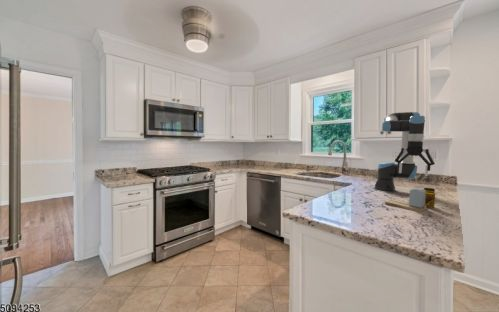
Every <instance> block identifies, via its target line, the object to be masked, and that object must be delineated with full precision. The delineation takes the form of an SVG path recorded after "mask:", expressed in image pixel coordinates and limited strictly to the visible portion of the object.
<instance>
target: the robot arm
mask: <svg viewBox="0 0 499 312" xmlns="http://www.w3.org/2000/svg"><path fill="white" fill-rule="evenodd" d="M425 123H426V117H425V116H424V115H421V114H420V113H419V112H417V111H408V112H406V111H405V112H394V113H393V112H392V113H390V114H387V115H386V116H385V117H384V119H383V121H382V123H381V127H382V128H381V130H382V132H386V133H387V132H388V133H389V132H396V133H397V132H399V133H400V132H401V141H400V142H401V145H400V146H401V147H400V152H399V154H398V155H397V156H396V158H395V160H394V161H393V162H391V161H387V162H386V161H385V162H384V161H383V162H379V164H378V166H377V178H376V179H377V180H376V181H375V184H374V190H375V189H376V190H379V191H383V192H384V191H386V192H394V191H396V186H395V182H394V179H403V180H404V179H405V180H414V179H415V178H416V176H417V172H418V165H416V162H415V161H414V157H417V156H419V158H420V159H422V162H424V163H425V164H426V165H425V169H424V170H425V171H424V177H428V174H429V171H431V166H434V165H435V161H434V158H433V157H432V155H431V153H430V149H429V148H426V149H425V148H424V149H423V147H424V142H423V141H424V134H425V133H424V132H425V125H426V124H425ZM423 152H424V153H425V154H426V156H427V158H426V157H425V156H424V155H423Z"/></svg>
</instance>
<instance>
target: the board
mask: <svg viewBox="0 0 499 312" xmlns="http://www.w3.org/2000/svg"><path fill="white" fill-rule="evenodd" d="M384 205H387V206H392V207H395V208H396V207H397V208H401V209H405V210H410V211H415V212H419V213H422V212H423V211H425V210H427V208H426V206H424V207H423V208H421V209H420V208H416V207H411V206H409V201H403V200H399V199H392V198H391V199H389V200H386V201H384Z"/></svg>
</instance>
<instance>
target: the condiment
mask: <svg viewBox="0 0 499 312" xmlns="http://www.w3.org/2000/svg"><path fill="white" fill-rule="evenodd" d="M423 189H424V190H426V196H425V206H426V209H433V210H434V209H435V210H437V209H438V208H437V207H435V203H436V202H435V201H436V193H435V192H436V191H435V190H436V189H435V188H432V187H424V188H423Z"/></svg>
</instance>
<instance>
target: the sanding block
mask: <svg viewBox="0 0 499 312" xmlns="http://www.w3.org/2000/svg"><path fill="white" fill-rule="evenodd" d="M425 196H426V190H424V188H417V187H414V188H412V189H409V198H408V199H409V200H408V202H409V206H411V207H416V208H420V209H421V208H423V207H424V206H425Z"/></svg>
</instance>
